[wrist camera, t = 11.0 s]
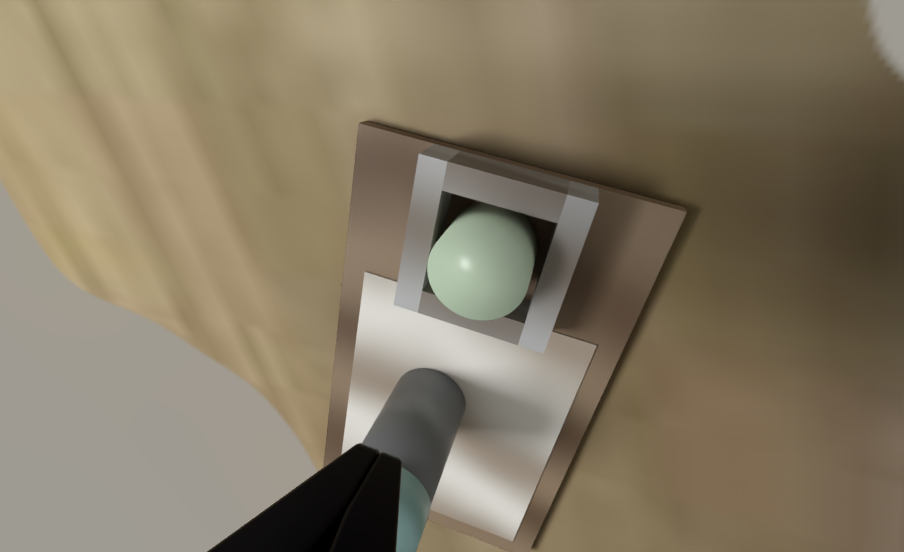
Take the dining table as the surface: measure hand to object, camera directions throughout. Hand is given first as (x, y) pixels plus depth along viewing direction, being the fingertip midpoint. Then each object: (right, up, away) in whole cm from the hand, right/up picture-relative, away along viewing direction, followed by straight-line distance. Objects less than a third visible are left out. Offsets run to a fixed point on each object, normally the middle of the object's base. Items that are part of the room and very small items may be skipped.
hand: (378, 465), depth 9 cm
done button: (+3, +5, +10) cm, 11 cm away
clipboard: (+2, -1, +14) cm, 14 cm away
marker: (0, -2, +14) cm, 14 cm away
